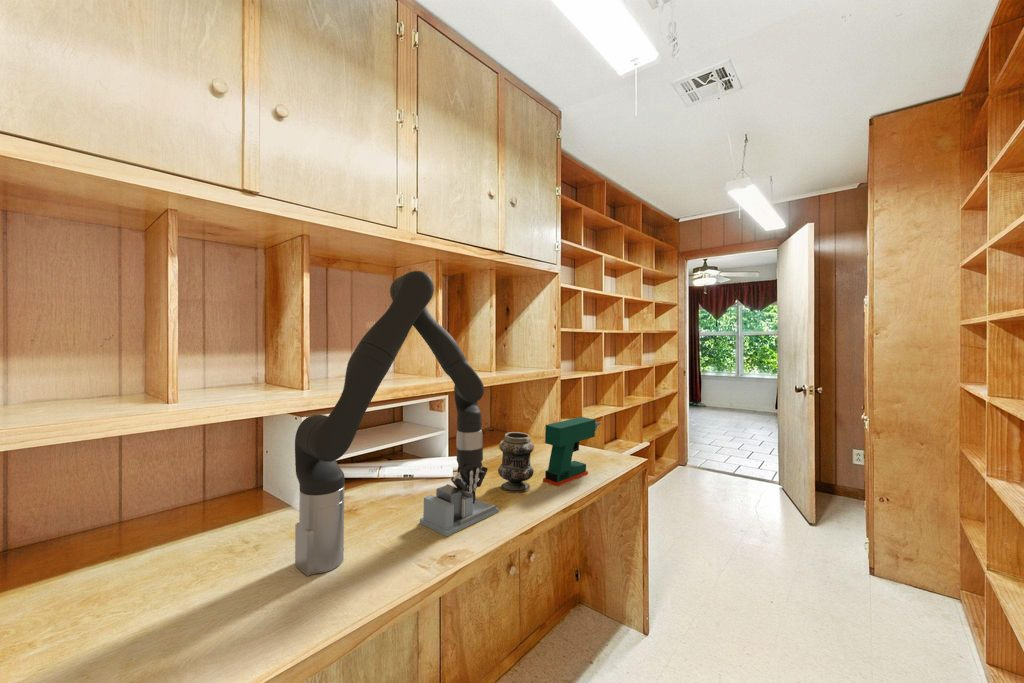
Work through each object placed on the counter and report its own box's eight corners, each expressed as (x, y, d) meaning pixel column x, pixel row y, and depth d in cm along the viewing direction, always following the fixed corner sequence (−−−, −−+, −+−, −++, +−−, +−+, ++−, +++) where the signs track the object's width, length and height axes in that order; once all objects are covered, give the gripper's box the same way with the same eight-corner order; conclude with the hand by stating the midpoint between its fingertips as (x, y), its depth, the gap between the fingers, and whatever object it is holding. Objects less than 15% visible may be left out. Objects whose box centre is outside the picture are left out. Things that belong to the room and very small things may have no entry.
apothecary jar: (539, 485, 146) (540, 433, 145) (522, 497, 136) (524, 441, 135) (509, 478, 152) (510, 428, 151) (490, 489, 142) (492, 435, 141)
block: (450, 524, 114) (451, 494, 113) (435, 517, 117) (436, 488, 117) (461, 519, 117) (462, 490, 116) (446, 512, 121) (447, 484, 120)
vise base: (446, 536, 109) (447, 509, 109) (419, 523, 116) (420, 497, 116) (498, 511, 125) (499, 487, 124) (472, 501, 132) (472, 478, 132)
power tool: (592, 461, 174) (594, 413, 173) (607, 466, 169) (609, 416, 168) (541, 480, 151) (543, 425, 150) (557, 486, 146) (559, 428, 145)
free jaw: (466, 521, 115) (467, 495, 115) (442, 510, 122) (442, 485, 122) (474, 518, 118) (474, 492, 117) (450, 507, 124) (450, 483, 124)
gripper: (476, 437, 130) (477, 492, 131) (443, 447, 120) (444, 507, 121) (494, 442, 125) (495, 499, 126) (461, 453, 115) (462, 516, 116)
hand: (470, 503), depth 123 cm, fingers closed
